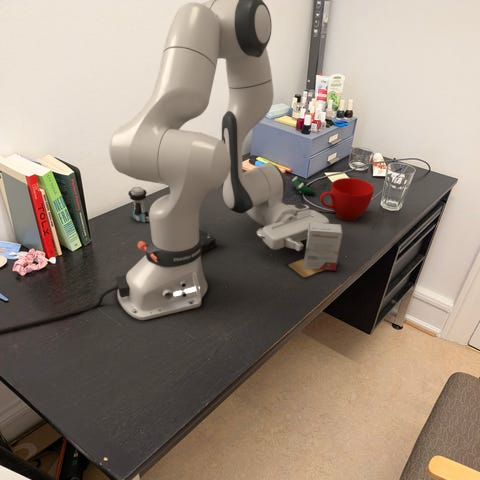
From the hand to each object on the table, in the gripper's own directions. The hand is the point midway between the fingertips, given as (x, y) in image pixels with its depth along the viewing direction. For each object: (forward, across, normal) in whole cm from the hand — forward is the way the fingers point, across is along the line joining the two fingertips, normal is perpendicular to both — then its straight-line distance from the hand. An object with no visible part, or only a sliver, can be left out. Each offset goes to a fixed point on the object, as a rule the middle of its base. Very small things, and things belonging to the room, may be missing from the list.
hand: (314, 243), depth 119 cm
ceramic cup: (-16, +27, +7) cm, 32 cm away
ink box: (+2, +1, +7) cm, 7 cm away
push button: (-47, -29, +7) cm, 56 cm away
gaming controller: (-37, +28, +7) cm, 47 cm away
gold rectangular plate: (+1, 0, +7) cm, 7 cm away
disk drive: (-28, -24, +7) cm, 37 cm away
